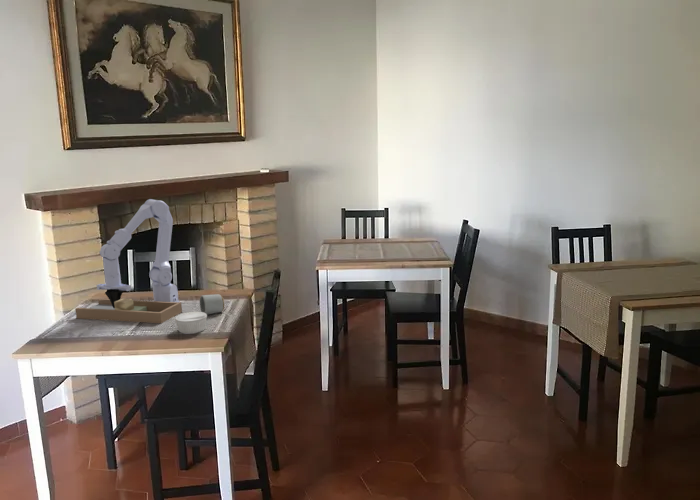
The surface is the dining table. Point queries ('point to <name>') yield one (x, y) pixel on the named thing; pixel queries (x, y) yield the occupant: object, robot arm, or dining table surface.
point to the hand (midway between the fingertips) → (116, 307)
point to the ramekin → (191, 322)
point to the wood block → (124, 304)
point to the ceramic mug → (211, 303)
